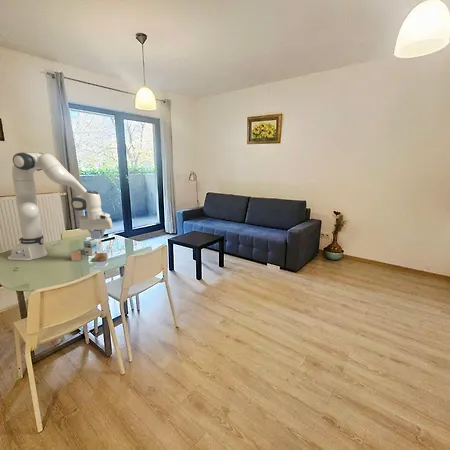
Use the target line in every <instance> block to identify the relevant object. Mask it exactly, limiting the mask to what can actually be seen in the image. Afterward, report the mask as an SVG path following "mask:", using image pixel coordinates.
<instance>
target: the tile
mask: <svg viewBox="0 0 450 450" xmlns="http://www.w3.org/2000/svg"><path fill="white" fill-rule="evenodd" d="M108 264H109V261H108V262H107V261H105V262H96V264H95V265H94V266H93V267H94V268H105V267H106V266H107V265H108Z"/></svg>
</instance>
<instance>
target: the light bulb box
mask: <svg viewBox="0 0 450 450" xmlns="http://www.w3.org/2000/svg"><path fill="white" fill-rule="evenodd" d="M83 247H84V255H85V256H92V257H94V256H95V255H96V253H102V252H103V248H102V238H101V239H92V237H90V238H87V239H84V240H83Z"/></svg>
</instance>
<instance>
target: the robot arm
mask: <svg viewBox="0 0 450 450" xmlns="http://www.w3.org/2000/svg"><path fill="white" fill-rule="evenodd" d="M12 163H13V165H12V169H11V170H12V171H11V174H12V183H13V188H14V196H15V201H16V207H17V212H18V219H19V223H20V232H21V237H20V238H19V239H18V242H19V243H18V244H17V245H15V246H14V247H13V248H12V249H11V253H10V255H9V256H8V257H7V260H11V261H31V260H36V259H41V258H44V257H46V256H47V255H49V253H48V252H47V249H46V247H45V246H46V245H45V240H44V235H43V231H42V226H41V225H42V224H41V221H42V220H41V215H40V214H41V213H40V208H39V206H38V200H37V199H38V198H37V191H36V184H35V176H34V172H35V171H37V172H38V171H43V173H44V174H45V175H46V176H47V178H49V180H50V181H52V182H53V183H55V184H59V185H64V186H66V187H67V186H68V187H70V188H72V189H73V190H74V191H75V192H76V193H77V194H78V195H77V196H74V197H72V199H71V201H70V204H71V207H72V208H73V210H75V211H78V212H80V211H84V210H85V211H86V214H87V215H80V216H79V217H78V221H79V229H80V230H81V231H82V230H83V231H84V230H85V231H88V232H89V234H90V236H91V237H92V231H93V230H102V233H101V236H103V237H104V235H105V231H106V230H112V229H113V221H112V218H111V214H109V213H107V212H104V211H103V209H102V200H101V195H100V193H99V192H97V191H96V190H89V189H87V188H86V186H84V184H83V183H81V181H79V179H77V178H76V177H75V176H74V175H73V174H72V173H70V172H69V171H68V170H67V169H66V168H65V167H64V166H63V165H62V164H61V162H60V160H58V159H57V158H56V157H55V156H54V155H52V154H51V153H41V152H34V151H33V152H31V151H30V152H19V153H17V152H16V154H14V155H13V157H12Z"/></svg>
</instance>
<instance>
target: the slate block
mask: <svg viewBox="0 0 450 450" xmlns="http://www.w3.org/2000/svg"><path fill="white" fill-rule="evenodd" d="M91 231H92V236H91V238H92V239H101V240H102V238H103V237H104V235H103V236H101V233H102V232H103V231H102V229H96V230H91Z"/></svg>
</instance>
